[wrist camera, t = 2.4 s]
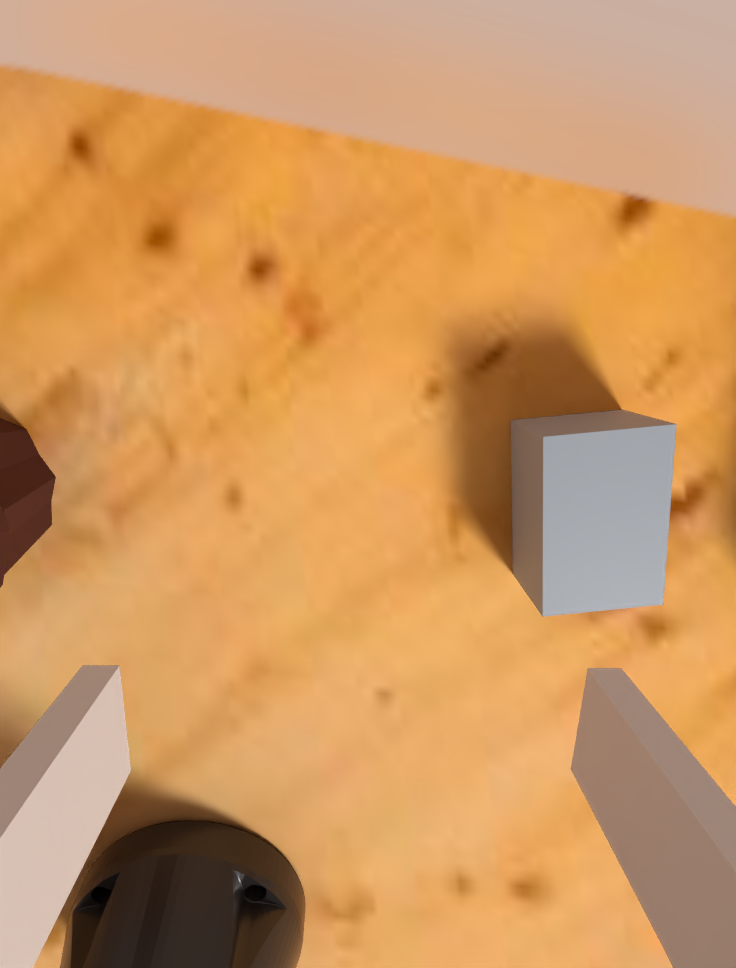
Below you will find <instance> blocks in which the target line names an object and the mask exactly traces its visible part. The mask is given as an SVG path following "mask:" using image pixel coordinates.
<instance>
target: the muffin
mask: <svg viewBox="0 0 736 968" xmlns="http://www.w3.org/2000/svg"><path fill="white" fill-rule="evenodd" d="M55 478H56V477H55V475H54V474H53V473H52V471H51V470H50V469H49V467H48V466H47V465H46V463H45V462H44V460H43V459H42V458H41V456H40V455H39V453H38V451H37V449H36V447H35V445H34V443H33V441H32V439H31V437H30V435H29V433H28V431H27V430H26V429H24V428H22V427H19V426H17V425H15V424H12V423H10V422H8V421H5V420H3V419H0V587H1V586H2V585H3V578H4V574H5V573H6V572H7V571H8V570H9V569H10V568H11V567H12V566H13V565H14V564H15V563H16V562H17V561H18V560H19V559H20V558H21V557H22V556H23V555H24V553H25V552H26V551H27V550H28V549H29V548H30V547H31V546H32V545H33V544H34V543H35V542H36V541H37V540H38V539H39V538H40V537H41V536H42V535H43V533H44V532H45V531H46V530H47V529H48V528H49V527H50V526H51V525H52V512H51V499H52V494H53V489H54V483H55Z"/></svg>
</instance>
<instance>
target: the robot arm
mask: <svg viewBox="0 0 736 968" xmlns="http://www.w3.org/2000/svg"><path fill="white" fill-rule="evenodd" d="M571 770H572V772H573V774H574V776H575V778H576V780H577V782H578V784H579V786H580V788H581V790H582V792H583V793H584V795H585V797H586V799H587V801H588V803H589V805H590V807H591V809H592V811H593V813H594V815H595V817H596V819H597V821H598V822H599V824H600V826H601V828H602V830H603V832H604V834H605V836H606V838H607V840H608V842H609V844H610V846H611V848H612V850H613V851H614V853H615V855H616V857H617V859H618V861H619V863H620V865H621V867H622V869H623V871H624V873H625V875H626V877H627V879H628V880H629V882H630V884H631V886H632V888H633V890H634V892H635V894H636V896H637V898H638V900H639V902H640V904H641V906H642V908H643V909H644V911H645V913H646V915H647V917H648V919H649V921H650V923H651V925H652V927H653V929H654V931H655V933H656V935H657V937H658V938H659V940H660V942H661V944H662V946H663V948H664V950H665V952H666V954H667V956H668V958H669V960H670V962H671V964H672V966H673V967H674V968H736V807H735V805H734V804H733V803H732V802H731V800H730V799H729V798H728V797H727V796H726V794H725V793H724V792H723V791H722V790H721V788H720V787H719V786H718V785H717V784H716V782H715V781H714V780H713V779H712V777H711V776H710V775H709V774H708V773H707V771H706V770H705V769H704V768H703V767H702V765H701V764H700V763H699V762H698V761H697V759H696V758H695V757H694V756H693V754H692V753H691V752H690V751H689V750H688V748H687V747H686V746H685V745H684V744H683V742H682V741H681V740H680V739H679V738H678V736H677V735H676V734H675V733H674V731H673V730H672V729H671V728H670V727H669V725H668V724H667V723H666V722H665V721H664V719H663V718H662V717H661V716H660V715H659V713H658V712H657V711H656V710H655V708H654V707H653V706H652V705H651V704H650V702H649V701H648V700H647V699H646V698H645V696H644V695H643V694H642V693H641V692H640V690H639V689H638V688H637V687H636V685H635V684H634V683H633V682H632V681H631V679H630V678H629V677H628V676H627V675H626V673H625V672H624V671H623V670H622V669H621V668H588V670H587V676H586V682H585V688H584V694H583V700H582V706H581V712H580V718H579V724H578V730H577V736H576V742H575V748H574V754H573V759H572V765H571ZM130 771H131V767H130V757H129V748H128V739H127V730H126V721H125V711H124V702H123V693H122V684H121V675H120V666H99V665H83V666H82V667H81V668H80V670H79V671H78V672H77V673H76V675H75V676H74V677H73V678H72V680H71V681H70V682H69V683H68V685H67V686H66V687H65V688H64V690H63V691H62V692H61V693H60V695H59V696H58V697H57V698H56V700H55V701H54V702H53V703H52V705H51V706H50V707H49V708H48V709H47V711H46V712H45V713H44V714H43V716H42V717H41V718H40V719H39V721H38V722H37V723H36V724H35V726H34V727H33V728H32V729H31V731H30V732H29V733H28V734H27V736H26V737H25V738H24V739H23V741H22V742H21V743H20V744H19V746H18V747H17V748H16V749H15V751H14V752H13V753H12V754H11V756H10V757H9V758H8V759H7V760H6V762H5V763H4V764H3V765H2V767H1V768H0V968H33V966H34V964H35V962H36V960H37V958H38V956H39V954H40V952H41V950H42V948H43V946H44V944H45V942H46V940H47V938H48V936H49V934H50V932H51V930H52V928H53V926H54V924H55V922H56V920H57V918H58V916H59V914H60V912H61V910H62V908H63V906H64V904H65V902H66V900H67V898H68V896H69V894H70V892H71V890H72V888H73V886H74V884H75V882H76V880H77V878H78V876H79V874H80V872H81V870H82V868H83V866H84V864H85V862H86V860H87V858H88V856H89V854H90V852H91V850H92V848H93V846H94V844H95V842H96V840H97V838H98V836H99V834H100V832H101V830H102V828H103V826H104V824H105V822H106V820H107V818H108V816H109V814H110V812H111V810H112V808H113V806H114V804H115V802H116V800H117V798H118V796H119V794H120V792H121V790H122V788H123V786H124V784H125V782H126V779H127V777H128V775H129V773H130ZM304 919H305V896H304V891H303V888H302V885H301V882H300V880H299V878H298V876H297V874H296V872H295V871H294V869H293V868H292V866H291V865H290V864H289V862H288V861H287V860H286V859H285V858H284V857H283V856H282V855H281V854H280V853H279V852H278V851H277V850H276V849H274V848H273V847H272V846H270V845H269V844H267V843H266V842H264V841H263V840H261V839H259V838H257V837H256V836H254V835H251V834H249V833H247V832H245V831H242V830H239V829H236V828H233V827H230V826H226V825H222V824H217V823H210V822H201V821H179V822H169V823H163V824H158V825H154V826H150V827H147V828H144V829H141V830H138V831H136V832H134V833H131V834H129V835H127V836H126V837H124V838H122V839H120V840H119V841H117V842H116V843H114V844H113V845H112V846H110V847H109V848H108V849H107V850H106V851H105V852H104V853H103V854H102V855H101V856H100V857H99V858H98V859H97V860H96V862H95V863H94V865H93V866H92V868H91V869H90V871H89V873H88V875H87V877H86V879H85V881H84V883H83V885H82V888H81V890H80V892H79V894H78V896H77V898H76V900H75V902H74V905H73V907H72V910H71V913H70V916H69V920H68V924H67V929H66V935H65V941H64V947H63V953H62V959H61V965H60V968H296V966H297V963H298V961H299V957H300V953H301V949H302V943H303V932H304Z"/></svg>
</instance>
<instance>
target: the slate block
mask: <svg viewBox="0 0 736 968" xmlns="http://www.w3.org/2000/svg"><path fill="white" fill-rule="evenodd" d="M675 437H676V424H674V423H670V422H666V421H663V420H659V419H655V418H651V417H648V416H644V415H640V414H637V413H633V412H629V411H625V410H612V411H601V412H591V413H580V414H569V415H559V416H548V417H537V418H527V419H516V420H511V479H512V551H513V575H514V576H515V578H516V579H517V581H518V582H519V583H520V585H521V586H522V588H523V589H524V591H525V592H526V593H527V595H528V596H529V598H530V599H531V601H532V602H533V603H534V605H535V606H536V608H537V609H538V611H539V612H540V613H541V615H542V616H553V615H563V614H573V613H583V612H593V611H603V610H613V609H623V608H633V607H643V606H653V605H663V599H664V585H665V572H666V558H667V545H668V531H669V518H670V505H671V491H672V478H673V464H674V451H675Z"/></svg>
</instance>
